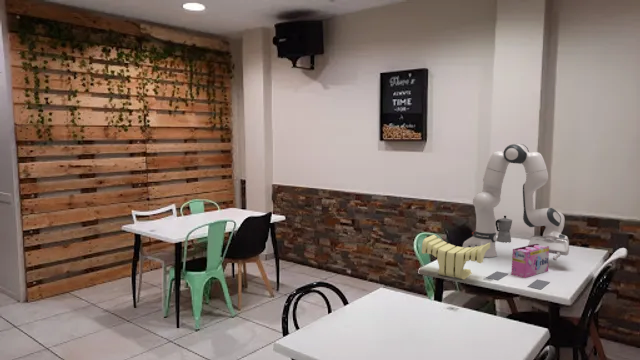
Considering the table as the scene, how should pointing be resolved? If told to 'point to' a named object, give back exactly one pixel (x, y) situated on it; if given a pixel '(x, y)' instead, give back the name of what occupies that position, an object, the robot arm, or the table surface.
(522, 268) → the gum box
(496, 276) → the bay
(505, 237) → the coffeepot
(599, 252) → the table surface
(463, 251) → the slatted curved stool
